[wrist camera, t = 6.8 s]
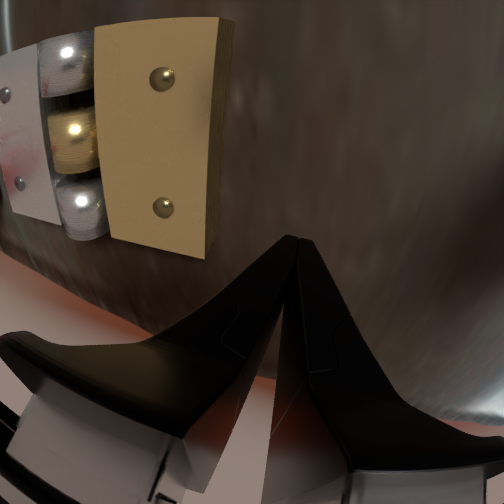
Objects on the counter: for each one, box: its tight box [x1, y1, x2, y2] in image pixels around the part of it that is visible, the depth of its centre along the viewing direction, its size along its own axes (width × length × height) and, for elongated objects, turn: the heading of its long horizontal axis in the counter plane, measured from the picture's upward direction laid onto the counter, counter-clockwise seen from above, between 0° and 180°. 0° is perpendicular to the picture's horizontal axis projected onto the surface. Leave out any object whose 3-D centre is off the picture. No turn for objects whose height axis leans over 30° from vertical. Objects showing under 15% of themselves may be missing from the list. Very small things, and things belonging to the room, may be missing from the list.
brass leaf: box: [47, 17, 236, 259], centre depth 15 cm, size 13×11×4 cm
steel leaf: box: [0, 30, 110, 241], centre depth 16 cm, size 13×11×4 cm
